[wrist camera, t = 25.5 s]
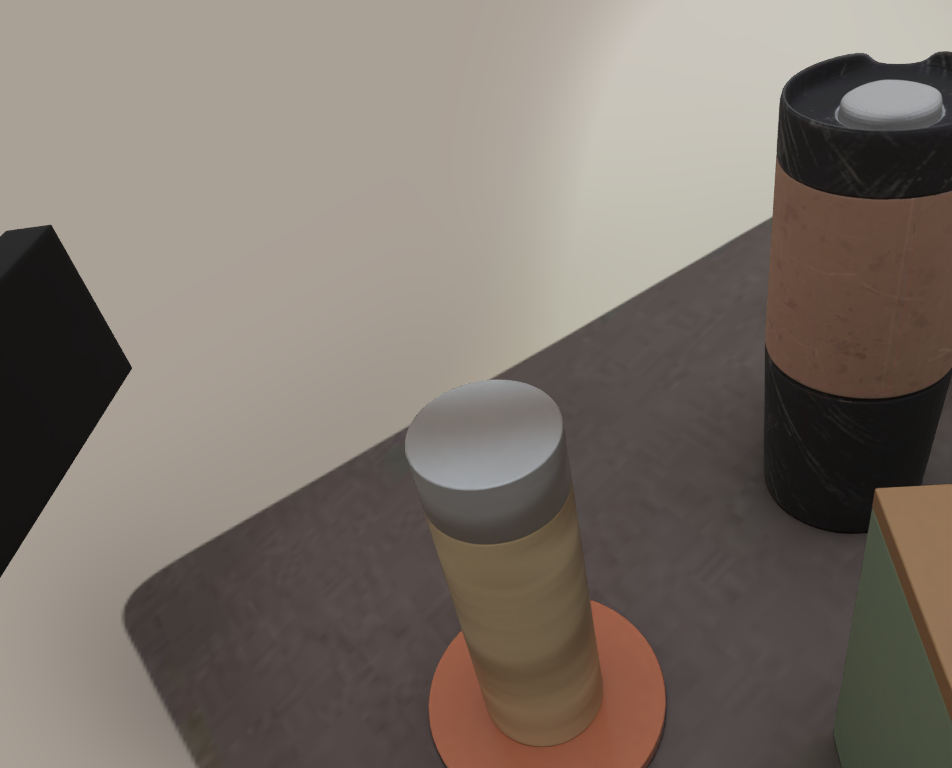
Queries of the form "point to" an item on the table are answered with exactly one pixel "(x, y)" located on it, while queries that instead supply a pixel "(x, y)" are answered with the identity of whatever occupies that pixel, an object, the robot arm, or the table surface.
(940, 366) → the travel mug
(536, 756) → the coaster
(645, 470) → the table surface
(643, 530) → the table surface
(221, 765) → the table surface
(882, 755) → the box
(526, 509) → the pepper mill
